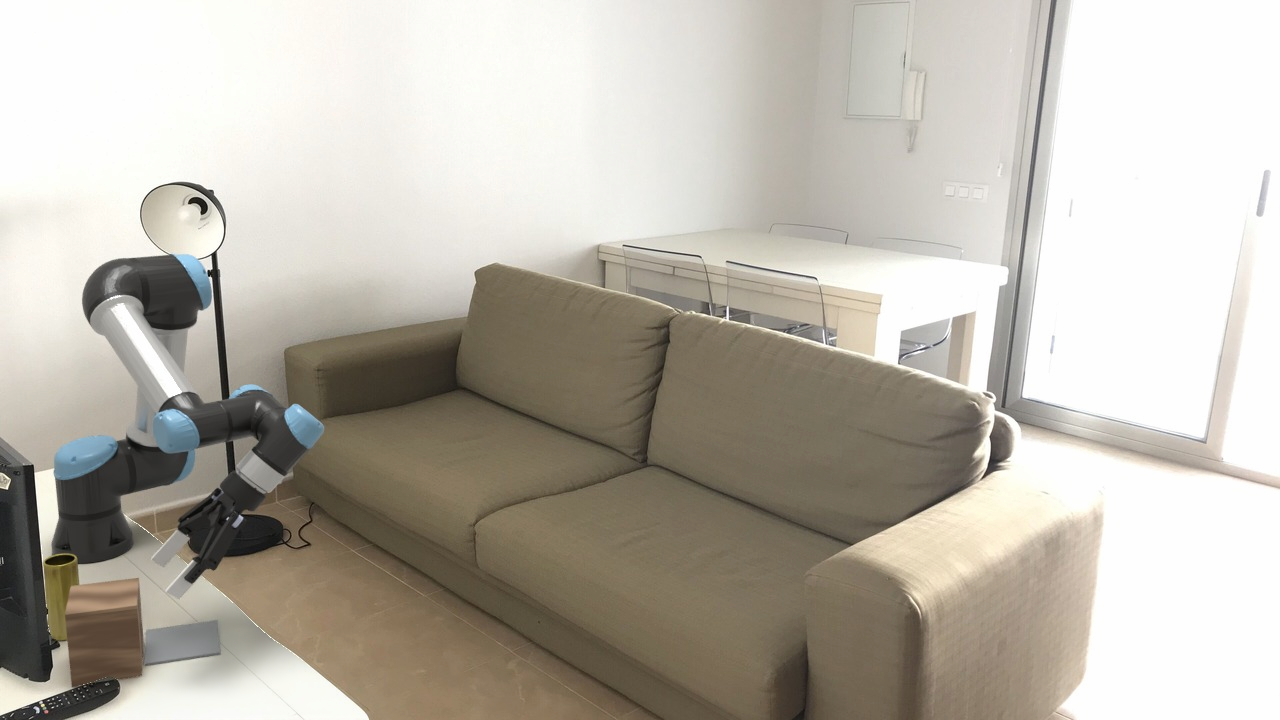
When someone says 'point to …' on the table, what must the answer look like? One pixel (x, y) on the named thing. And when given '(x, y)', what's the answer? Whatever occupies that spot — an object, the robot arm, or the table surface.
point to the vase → (59, 590)
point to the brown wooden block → (104, 631)
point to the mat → (182, 642)
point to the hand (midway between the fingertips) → (164, 578)
